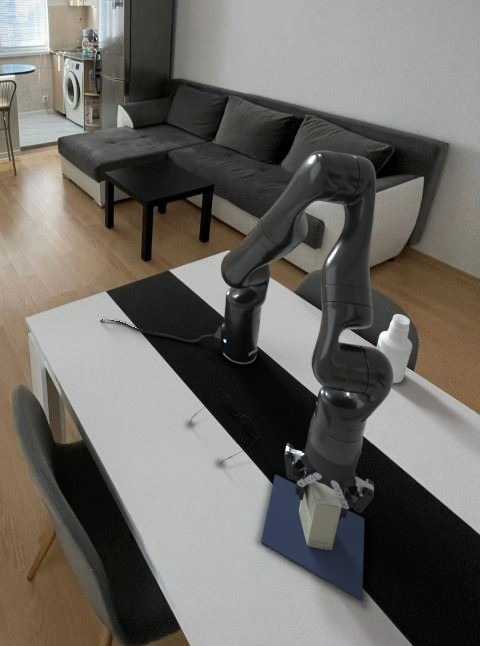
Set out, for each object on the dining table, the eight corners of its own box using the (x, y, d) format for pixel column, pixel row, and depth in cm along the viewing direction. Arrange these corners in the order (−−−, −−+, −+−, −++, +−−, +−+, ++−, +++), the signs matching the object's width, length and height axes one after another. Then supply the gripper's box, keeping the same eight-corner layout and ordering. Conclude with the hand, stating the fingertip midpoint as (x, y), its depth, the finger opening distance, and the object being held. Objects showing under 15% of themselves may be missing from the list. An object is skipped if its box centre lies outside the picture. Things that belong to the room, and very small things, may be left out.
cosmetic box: (332, 551, 78) (343, 509, 73) (305, 546, 78) (315, 504, 74) (321, 513, 83) (331, 472, 79) (296, 508, 84) (305, 468, 80)
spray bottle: (398, 365, 114) (413, 312, 108) (406, 386, 108) (423, 331, 102) (368, 360, 116) (381, 307, 110) (375, 380, 110) (389, 325, 104)
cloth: (260, 542, 80) (260, 541, 80) (275, 475, 91) (275, 474, 90) (361, 601, 71) (362, 600, 71) (364, 519, 82) (364, 518, 82)
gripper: (385, 443, 71) (366, 507, 77) (290, 404, 79) (280, 465, 85) (385, 484, 65) (365, 550, 71) (283, 438, 73) (273, 501, 79)
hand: (319, 504), depth 78 cm, fingers closed on cosmetic box, 5 cm apart
